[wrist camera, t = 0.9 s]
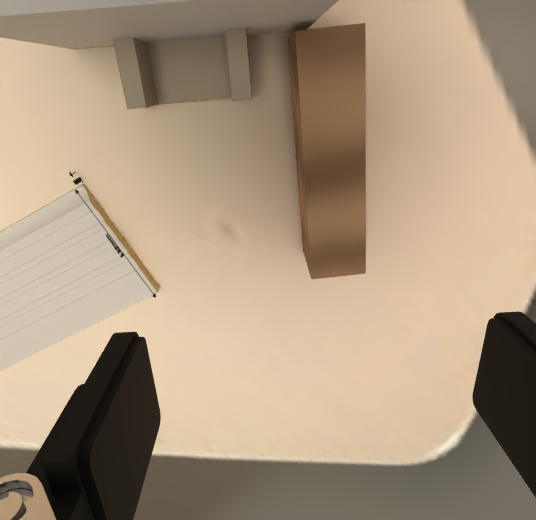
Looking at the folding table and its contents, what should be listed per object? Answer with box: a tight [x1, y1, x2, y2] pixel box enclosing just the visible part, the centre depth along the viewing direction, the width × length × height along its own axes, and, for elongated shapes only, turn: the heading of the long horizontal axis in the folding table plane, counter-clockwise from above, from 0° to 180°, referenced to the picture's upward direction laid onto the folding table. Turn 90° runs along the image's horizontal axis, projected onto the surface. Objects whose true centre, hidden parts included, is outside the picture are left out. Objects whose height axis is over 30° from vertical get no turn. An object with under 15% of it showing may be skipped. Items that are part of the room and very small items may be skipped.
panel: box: [0, 0, 338, 109], centre depth 21 cm, size 5×16×14 cm, turn 94°
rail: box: [288, 23, 366, 279], centre depth 28 cm, size 16×4×6 cm, turn 6°
